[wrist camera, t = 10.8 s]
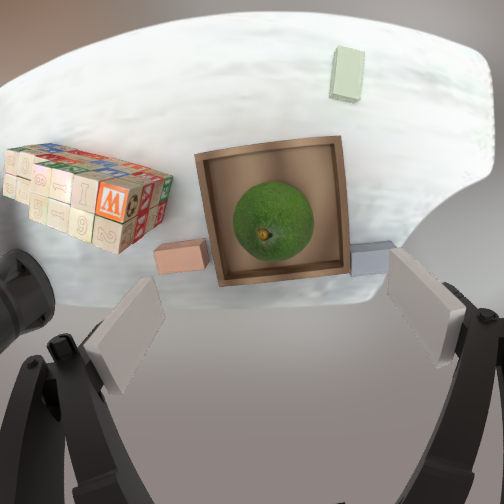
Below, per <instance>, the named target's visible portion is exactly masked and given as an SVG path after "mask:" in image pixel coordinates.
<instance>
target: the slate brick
mask: <svg viewBox="0 0 504 504" xmlns="http://www.w3.org/2000/svg"><path fill="white" fill-rule="evenodd" d="M393 248H397V247H396V246H395V245H394V244H393V243H392V242H391V241H387V242H376V243H365V244H354V245H350V275H351V277H353V276H362V275H371V274H380V273H389V249H393Z"/></svg>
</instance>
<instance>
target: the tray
mask: <svg viewBox="0 0 504 504" xmlns="http://www.w3.org/2000/svg"><path fill="white" fill-rule="evenodd" d="M194 155H195V161H196V167H197V173H198V179H199V184H200V190H201V196H202V201H203V207H204V212H205V218H206V223H207V228H208V233H209V239H210V244H211V249H212V254H213V259H214V264H215V269H216V274H217V279H218V283H219V287H224V286H235V285H245V284H256V283H265V282H275V281H285V280H294V279H303V278H312V277H320V276H329V275H337V274H345V273H350V238H349V219H348V203H347V190H346V179H345V168H344V159H343V150H342V142H341V136H327V137H315V138H303V139H294V140H284V141H276V142H268V143H260V144H253V145H246V146H239V147H233V148H227V149H221V150H215V151H210V152H204V153H199V154H194ZM266 182H282V183H286V184H289V185H292V186H293V187H295V188H296V189H298V190H299V191H300V192H301V193H302V194H303V195H304V196H305V197H306V198H307V199H308V202H309V204H310V206H311V208H312V211H313V217H314V230H313V234H312V237H311V240H310V242H309V243H308V244H307V246H306V247H305V248H304V249H303V250H302V251H301V252H300V253H298V254H297V255H295V256H294V257H292V258H289V259H287V260H284V261H277V262H271V261H263V260H258V259H257V258H255V257H253V256H252V255H250V254H249V253H248V252H247V251H246V250H245V249H244V248H243V247H242V246H241V245H240V243H239V242H238V240H237V238H236V236H235V233H234V227H233V214H234V211H235V208H236V205H237V202H238V201H239V200H240V198H241V197H242V195H243V194H244V193H245V192H247V191H248V190H249V189H250V188H251V187H253V186H256V185H258V184H261V183H266Z"/></svg>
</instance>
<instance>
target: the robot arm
mask: <svg viewBox="0 0 504 504" xmlns="http://www.w3.org/2000/svg"><path fill="white" fill-rule="evenodd" d="M388 277H389V278H388V293H387V294H388V295H389V297H390V298H391V300H392V301H393V303H394V304H395V305H396V307H397V308H398V310H399V311H400V313H401V314H402V316H403V317H404V318H405V320H406V321H407V323H408V324H409V326H410V327H411V329H412V330H413V332H414V333H415V335H416V336H417V338H418V340H419V341H420V342H421V344H422V346H423V347H424V349H425V350H426V352H427V354H428V355H429V357H430V358H431V360H432V362H433V363H434V365H435V366H436V368H439V367H442V366H446V365H449V364H451V363H452V360H453V357H454V354H455V353H456V354H457V356H458V357H459V360H458V363H457V366H456V369H455V372H454V375H453V380H452V383H451V386H450V389H449V392H448V395H447V398H446V400H445V403H444V406H443V409H442V411H441V414H440V417H439V419H438V421H437V424H436V426H435V429H434V431H433V434H432V436H431V438H430V440H429V442H428V445H427V447H426V449H425V451H424V453H423V455H422V457H421V459H420V461H419V463H418V465H417V467H416V469H415V471H414V473H413V474H412V476H411V478H410V480H409V482H408V483H407V485H406V487H405V489H404V490H403V492H402V494H401V495H400V497H399V499H398V500H397V502H396V503H395V504H464V503H465V501H466V499H467V496H468V494H469V491H470V489H471V486H472V483H473V480H474V473H473V472H472V467H473V465H474V462H475V458H476V455H477V452H478V449H479V446H480V442H481V439H482V435H483V431H484V427H485V423H486V419H487V415H488V409H489V406H490V400H491V395H492V389H493V383H494V377H495V369H497V376H498V381H499V389H500V397H501V407H502V420H503V446H504V318H499V316H498V315H497V314H496V313H495V312H494V311H492V310H490V309H486V308H479V309H477V308H476V307H475V306H474V305H473V304H472V303H471V302H470V301H469V300H468V299H467V298H466V297H464V295H463V294H462V293H460V292H459V291H458V290H457V289H456V288H455V287H454V286H452V285H450V284H448V283H446V282H444V283H441V282H440V281H439V280H438V279H437V278H435V277H434V276H433V275H432V274H431V273H430V272H429V271H428V270H427V269H426V268H424V267H423V266H422V265H421V264H420V263H419V262H418V261H417V260H416V259H414V258H413V257H412V256H411V255H410V254H409V253H407V252H406V251H405V250H404V249H403V248H402V247H401V248H393V249H389V274H388ZM54 311H55V301H54V295H53V292H52V288H51V286H50V283H49V281H48V279H47V277H46V275H45V273H44V272H43V270H42V268H41V267H40V266H39V264H38V263H37V262H36V261H35V260H34V259H33V258H32V257H31V256H30V255H29V254H27V253H26V252H24V251H21V250H12V251H10V252H8V253H6V254H5V255H3V256H2V257H1V258H0V354H1V353H2V352H3V351H4V350H5V349H6V348H7V347H8V346H9V345H10V344H11V343H12V342H13V341H14V340H15V339H16V338H18V337H19V336H20V335H23V334H26V333H28V332H31V331H34V330H37V329H40V328H42V327H44V326H45V325H46V324H47V323H48V322H49V321H50V320H51V319H52V317H53V315H54ZM164 320H165V314H164V311H163V308H162V305H161V302H160V298H159V295H158V292H157V288H156V285H155V281H154V278H153V276H150V277H141V278H140V280H139V281H138V282H137V283H136V284H135V285H134V286H133V287H132V288H131V290H130V291H129V292H128V293H127V294H126V295H125V296H124V298H123V299H122V300H121V301H120V302H119V303H118V304H117V306H116V307H115V308H114V309H113V310H112V312H111V313H110V314H109V315H108V316H107V317H106V318H105V319H104V320H103V321H101V322H100V323H99V324H97V325H96V326H95V328H94V329H93V330H92V332H90V334H89V335H88V337H86V338H85V339H84V341H83V342H82V343H81V344H80V345H79V347H78V348H77V346H76V344H75V342H74V340H73V338H72V336H71V335H70V334H68V333H66V334H60V335H58V336H56V337H54V338H52V339H51V340H50V341H49V342H48V343H47V349H48V350H49V352H50V354H51V356H52V358H53V360H54V363H47V364H46V362H45V361H44V359H43V357H42V356H41V355H35V356H30V357H29V358H27V359H26V360H25V361H24V363H23V364H22V366H21V368H20V371H19V374H18V376H17V379H16V382H15V385H14V388H13V390H12V393H11V396H10V399H9V402H8V405H7V409H6V412H5V416H4V419H3V422H2V426H1V430H0V504H64V449H65V437H66V441H67V446H68V450H69V454H70V458H71V462H72V465H73V469H74V472H75V476H76V480H77V483H78V487H75V488H73V490H72V493H73V498H74V501H75V504H154V502H153V501H152V498H151V497H150V495H149V493H148V492H147V490H146V488H145V486H144V484H143V483H142V481H141V479H140V477H139V475H138V473H137V471H136V469H135V467H134V465H133V463H132V462H131V460H130V457H129V455H128V453H127V451H126V449H125V447H124V444H123V442H122V440H121V438H120V436H119V433H118V431H117V429H116V426H115V424H114V422H113V419H112V417H111V414H110V411H109V409H108V406H107V403H106V401H105V398H104V395H103V394H102V392H101V388H102V386H103V385H104V386H105V387H106V389H107V391H108V393H109V394H114V395H124V393H125V391H126V389H127V387H128V385H129V383H130V382H131V380H132V378H133V376H134V374H135V372H136V370H137V368H138V367H139V364H140V363H141V361H142V359H143V357H144V356H145V354H146V352H147V350H148V348H149V346H150V345H151V343H152V341H153V339H154V337H155V336H156V334H157V332H158V330H159V328H160V327H161V325H162V323H163V321H164ZM503 449H504V448H503ZM503 459H504V455H503ZM503 462H504V460H503ZM338 504H345V502H344V503H338ZM500 504H504V463H503V481H502V493H501V503H500Z"/></svg>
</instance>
